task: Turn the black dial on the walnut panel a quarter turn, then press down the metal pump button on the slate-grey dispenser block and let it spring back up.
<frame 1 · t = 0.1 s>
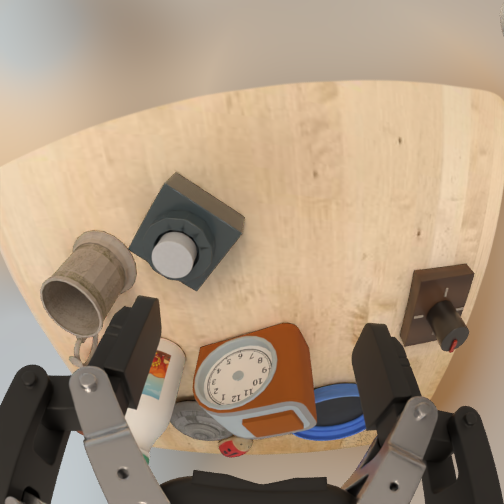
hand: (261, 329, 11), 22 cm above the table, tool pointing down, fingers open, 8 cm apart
dial: (447, 326, 34), point 5 cm above the table, hinge at 0.0°
milk bottle: (163, 351, 46), on the table
dispenser: (189, 225, 34), on the table
mug: (106, 277, 39), on the table
pump: (174, 255, 28), point 7 cm above the table, slide at 0.1 cm
bowl: (333, 405, 52), on the table
flying saucer: (204, 413, 55), on the table
alarm clock: (256, 350, 44), on the table
dial panel: (433, 301, 38), on the table
ladybug figurine: (235, 440, 61), on the table
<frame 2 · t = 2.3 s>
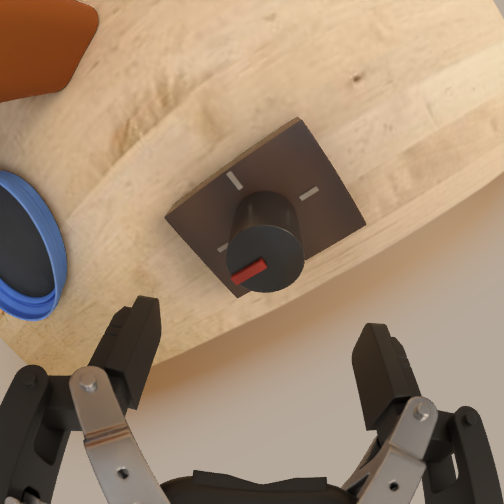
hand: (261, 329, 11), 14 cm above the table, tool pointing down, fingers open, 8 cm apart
dial: (265, 239, 19), point 5 cm above the table, hinge at 0.0°
bowl: (15, 239, 27), on the table
alarm clock: (34, 31, 16), on the table
dial panel: (265, 206, 24), on the table
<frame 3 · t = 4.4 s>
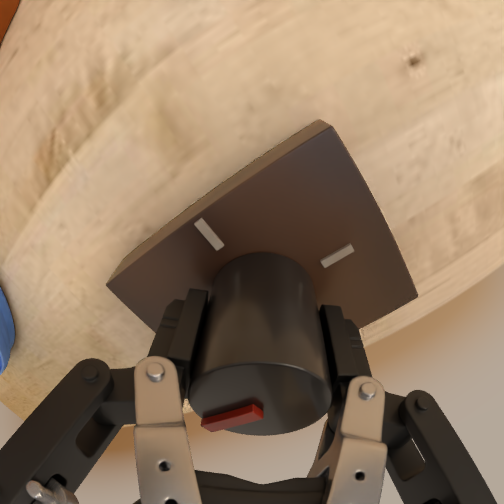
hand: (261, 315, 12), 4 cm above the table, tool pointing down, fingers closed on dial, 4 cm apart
dial: (261, 345, 11), point 5 cm above the table, hinge at 0.0°, touching gripper
dial panel: (263, 264, 15), on the table
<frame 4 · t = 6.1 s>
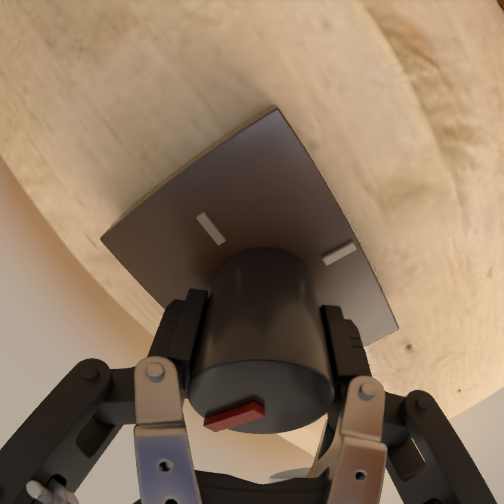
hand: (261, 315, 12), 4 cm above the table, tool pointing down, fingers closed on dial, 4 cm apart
dial: (262, 342, 10), point 5 cm above the table, hinge at 95.5°, touching gripper
dial panel: (263, 261, 15), on the table
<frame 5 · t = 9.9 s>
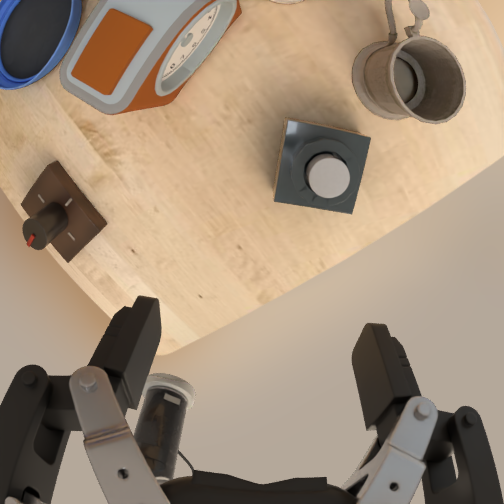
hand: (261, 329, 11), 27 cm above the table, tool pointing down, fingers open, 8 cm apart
dial: (44, 226, 33), point 5 cm above the table, hinge at 95.5°
dispenser: (316, 161, 34), on the table
mug: (384, 62, 28), on the table
pump: (327, 175, 28), point 7 cm above the table, slide at 0.1 cm
bowl: (36, 29, 25), on the table
alarm clock: (175, 44, 28), on the table
dial panel: (65, 210, 38), on the table
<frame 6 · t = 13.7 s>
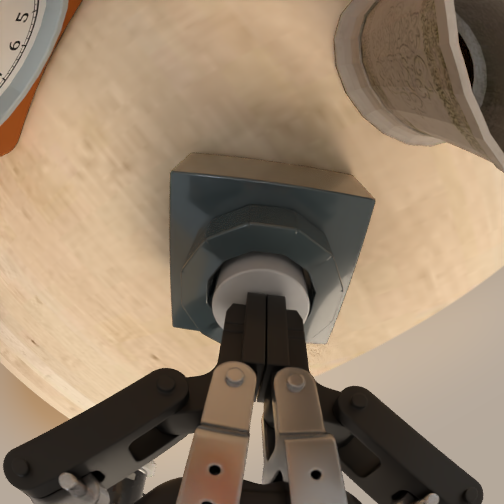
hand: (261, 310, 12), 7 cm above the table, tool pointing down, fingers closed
dispenser: (262, 235, 18), on the table
mug: (403, 25, 11), on the table
pump: (261, 295, 13), point 6 cm above the table, slide at -0.8 cm, touching gripper
alarm clock: (16, 49, 12), on the table
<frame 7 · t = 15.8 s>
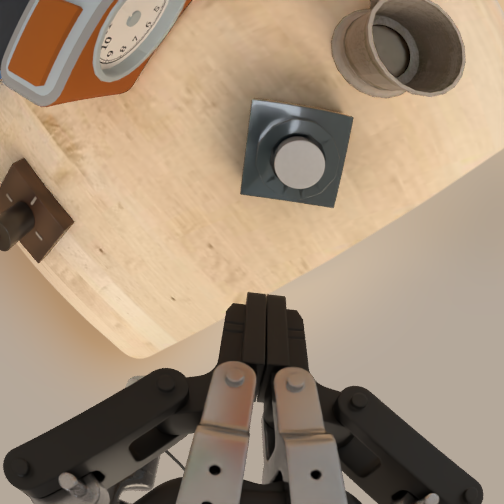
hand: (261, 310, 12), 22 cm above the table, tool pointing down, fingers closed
dial: (11, 226, 30), point 5 cm above the table, hinge at 95.5°
dispenser: (292, 146, 30), on the table
mug: (370, 32, 23), on the table
pump: (298, 162, 24), point 7 cm above the table, slide at 0.1 cm
bowl: (3, 26, 20), on the table
alarm clock: (133, 27, 23), on the table
dial panel: (34, 208, 34), on the table
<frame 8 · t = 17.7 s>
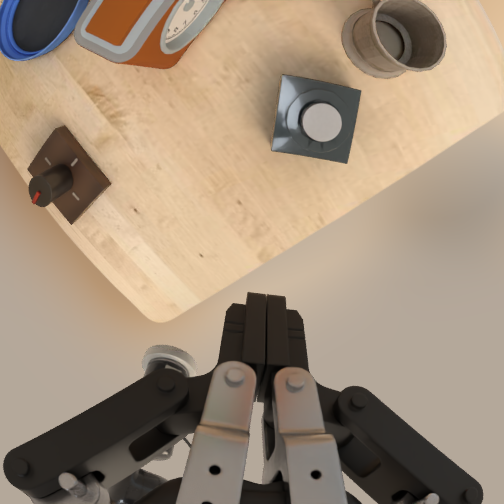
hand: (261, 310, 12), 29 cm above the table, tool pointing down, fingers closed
dial: (50, 185, 34), point 5 cm above the table, hinge at 95.5°
dispenser: (311, 116, 34), on the table
mug: (372, 27, 28), on the table
pump: (320, 121, 29), point 7 cm above the table, slide at 0.1 cm
bowl: (48, 7, 25), on the table
alarm clock: (178, 15, 28), on the table
dial panel: (70, 173, 39), on the table
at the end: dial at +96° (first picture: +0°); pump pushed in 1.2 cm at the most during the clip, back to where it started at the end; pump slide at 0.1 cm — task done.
